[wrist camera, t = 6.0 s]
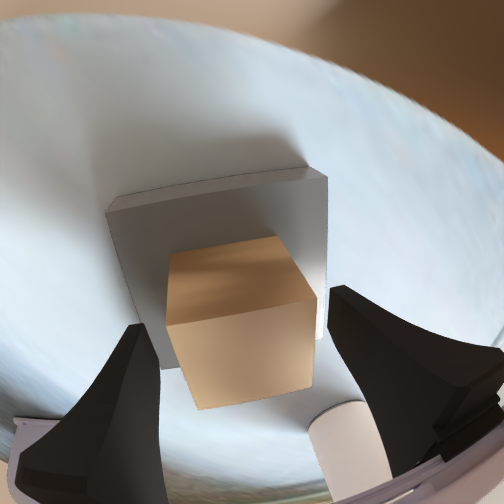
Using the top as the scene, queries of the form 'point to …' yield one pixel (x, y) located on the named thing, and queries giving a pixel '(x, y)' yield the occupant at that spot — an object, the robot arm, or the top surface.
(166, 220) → the slate base
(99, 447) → the robot arm
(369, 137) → the top surface
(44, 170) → the top surface
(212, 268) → the oak block
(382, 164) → the top surface
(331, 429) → the can
